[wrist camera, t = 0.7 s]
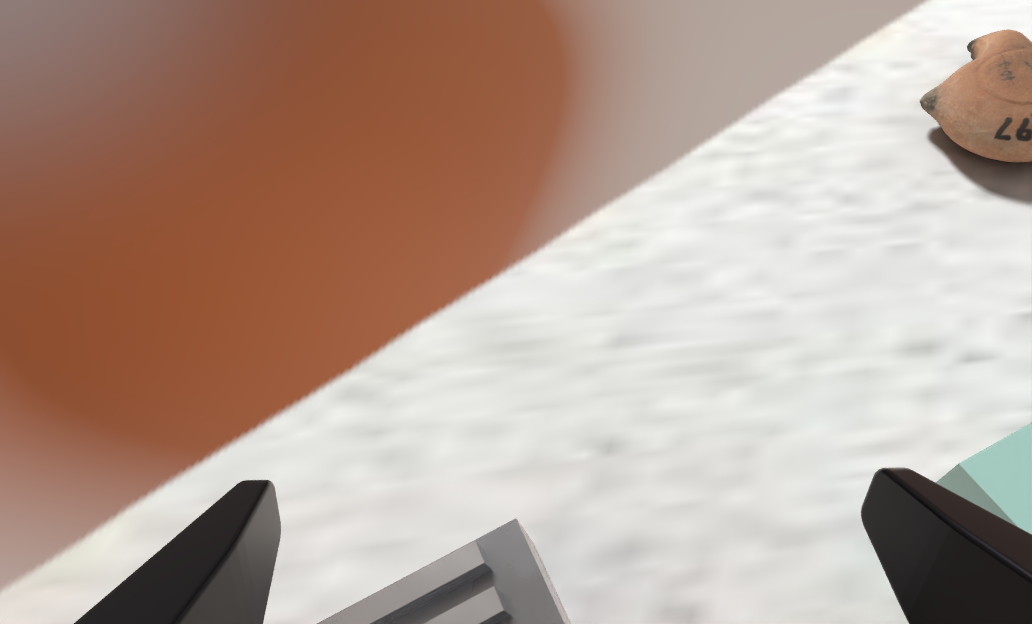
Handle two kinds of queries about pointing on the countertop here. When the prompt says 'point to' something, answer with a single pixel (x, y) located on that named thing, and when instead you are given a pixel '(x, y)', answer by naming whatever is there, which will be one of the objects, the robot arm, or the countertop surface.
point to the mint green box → (998, 479)
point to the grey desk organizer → (469, 588)
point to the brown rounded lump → (989, 99)
